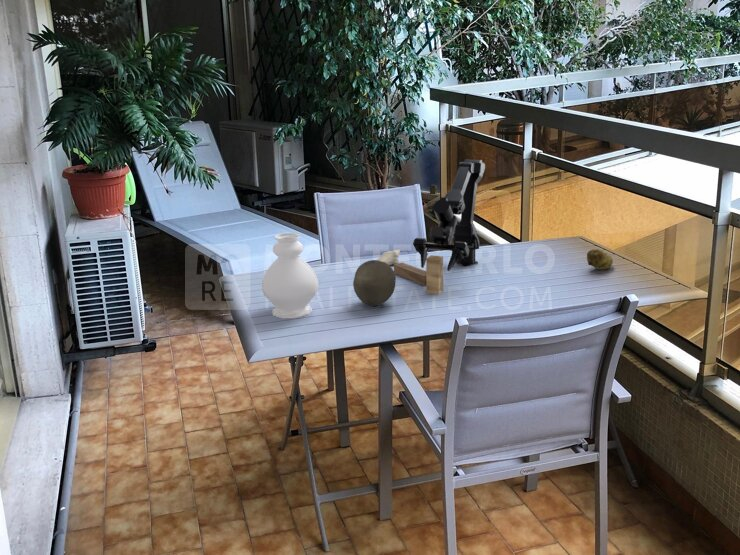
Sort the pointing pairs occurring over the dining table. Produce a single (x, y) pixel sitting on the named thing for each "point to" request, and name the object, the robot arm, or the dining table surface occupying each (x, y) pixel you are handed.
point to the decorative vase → (289, 279)
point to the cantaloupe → (374, 282)
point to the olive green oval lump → (599, 259)
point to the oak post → (434, 274)
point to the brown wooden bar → (410, 273)
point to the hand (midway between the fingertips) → (434, 268)
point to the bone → (390, 257)
